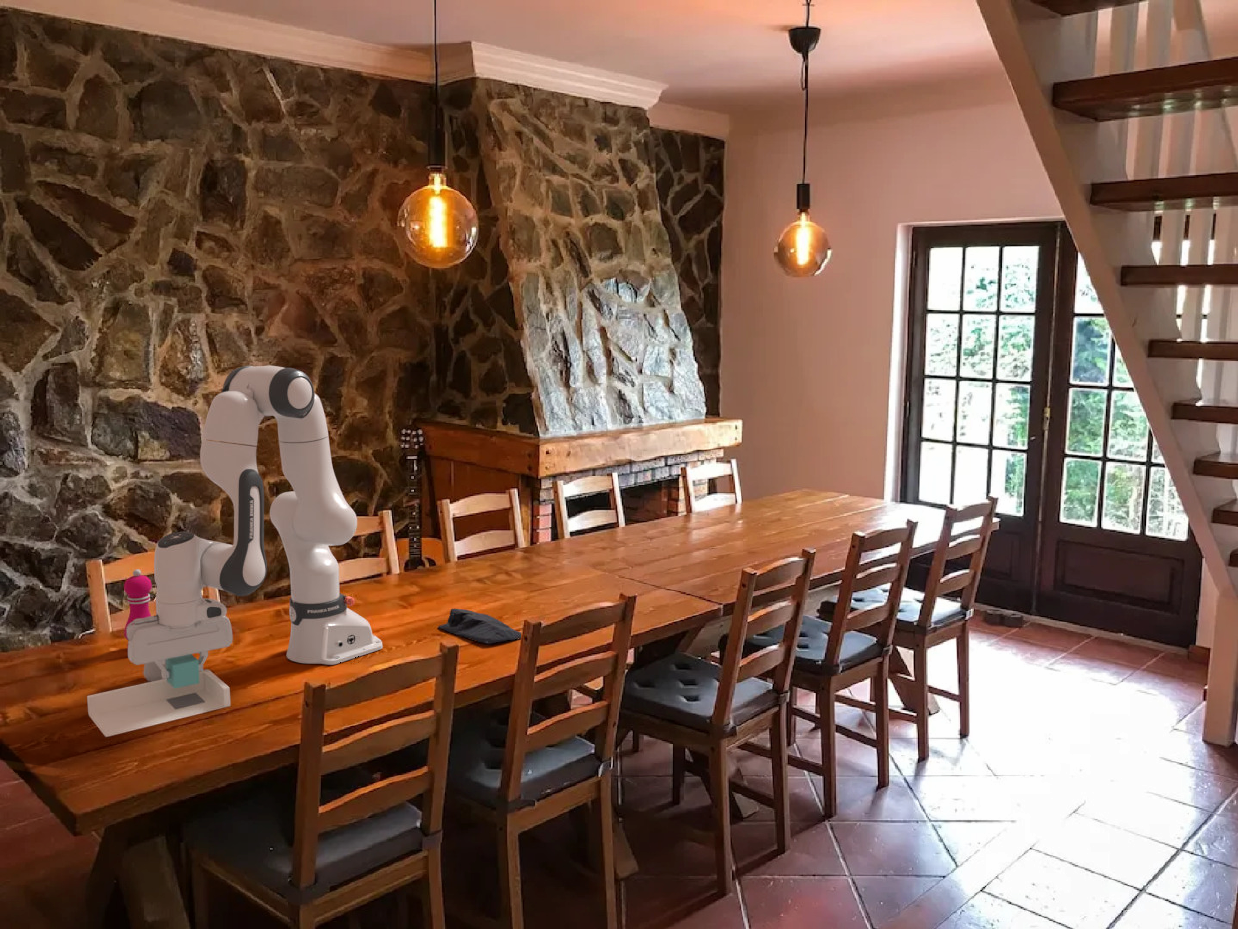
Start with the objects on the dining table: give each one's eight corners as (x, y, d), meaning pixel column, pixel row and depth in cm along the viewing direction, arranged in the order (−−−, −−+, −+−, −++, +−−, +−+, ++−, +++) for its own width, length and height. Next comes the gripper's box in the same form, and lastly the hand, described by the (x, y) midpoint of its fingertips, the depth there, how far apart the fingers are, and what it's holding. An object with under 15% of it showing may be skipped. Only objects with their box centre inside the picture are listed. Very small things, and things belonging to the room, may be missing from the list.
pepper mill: (164, 648, 247) (159, 568, 244) (136, 657, 241) (130, 575, 238) (147, 642, 251) (142, 563, 248) (119, 650, 245) (113, 570, 242)
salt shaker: (176, 676, 230) (173, 621, 228) (166, 686, 225) (163, 630, 222) (150, 676, 230) (146, 621, 228) (139, 686, 224) (135, 630, 222)
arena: (209, 690, 223) (207, 669, 222) (230, 710, 213) (229, 687, 212) (88, 719, 207) (87, 696, 207) (106, 741, 198) (104, 717, 197)
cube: (191, 675, 217) (190, 653, 216) (199, 683, 213) (198, 660, 213) (166, 681, 214) (165, 658, 213) (174, 688, 210) (173, 665, 209)
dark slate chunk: (481, 652, 250) (480, 633, 250) (434, 628, 267) (433, 611, 266) (531, 639, 260) (531, 621, 260) (483, 617, 277) (483, 600, 276)
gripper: (130, 624, 202) (134, 691, 204) (234, 606, 215) (236, 668, 218) (121, 616, 207) (125, 681, 209) (223, 599, 220) (226, 660, 222)
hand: (182, 675), depth 213 cm, fingers closed on cube, 5 cm apart
